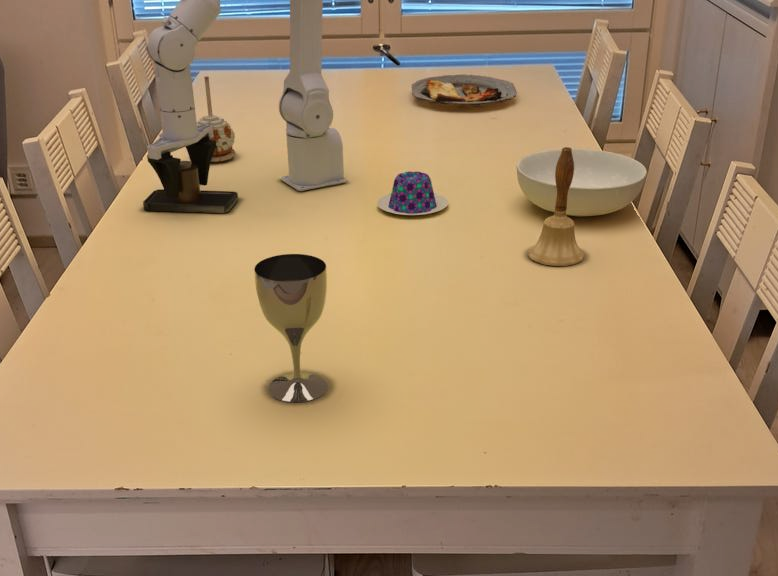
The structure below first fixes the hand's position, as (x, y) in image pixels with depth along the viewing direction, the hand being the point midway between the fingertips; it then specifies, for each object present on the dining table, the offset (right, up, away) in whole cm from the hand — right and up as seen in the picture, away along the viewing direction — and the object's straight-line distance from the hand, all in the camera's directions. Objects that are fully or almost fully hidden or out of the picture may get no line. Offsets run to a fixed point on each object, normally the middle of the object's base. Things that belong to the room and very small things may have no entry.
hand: (187, 190), depth 174 cm
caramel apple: (+1, +13, +24) cm, 27 cm away
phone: (0, -2, +2) cm, 3 cm away
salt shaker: (0, -2, +1) cm, 2 cm away
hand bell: (+59, -16, -20) cm, 64 cm away
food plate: (+52, +38, +58) cm, 86 cm away
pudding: (+38, -3, -1) cm, 38 cm away
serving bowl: (+66, -4, -3) cm, 66 cm away
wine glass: (+22, -39, -53) cm, 69 cm away
